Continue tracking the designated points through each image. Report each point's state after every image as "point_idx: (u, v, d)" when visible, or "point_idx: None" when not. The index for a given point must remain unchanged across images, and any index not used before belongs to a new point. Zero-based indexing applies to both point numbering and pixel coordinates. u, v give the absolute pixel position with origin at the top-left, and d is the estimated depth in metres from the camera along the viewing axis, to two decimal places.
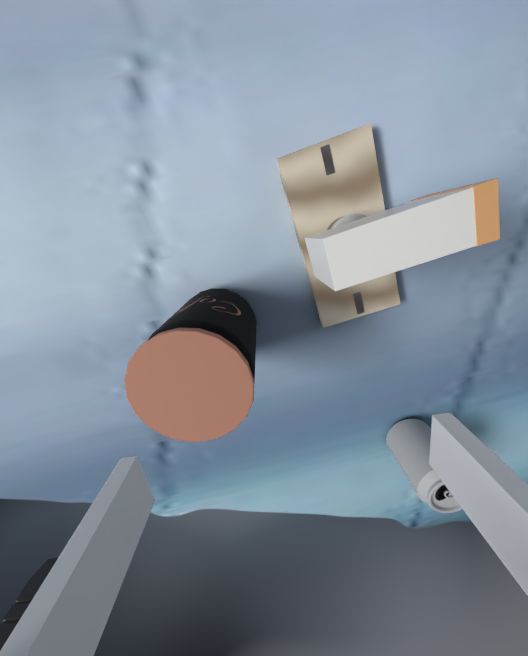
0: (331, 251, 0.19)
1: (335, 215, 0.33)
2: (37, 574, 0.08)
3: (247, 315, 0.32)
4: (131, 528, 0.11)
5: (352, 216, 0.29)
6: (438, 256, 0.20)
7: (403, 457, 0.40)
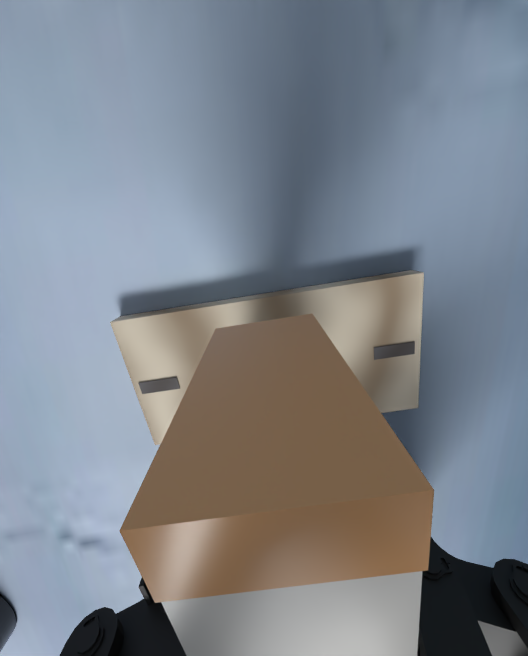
0: None
1: None
2: None
3: None
4: None
5: None
6: None
7: None
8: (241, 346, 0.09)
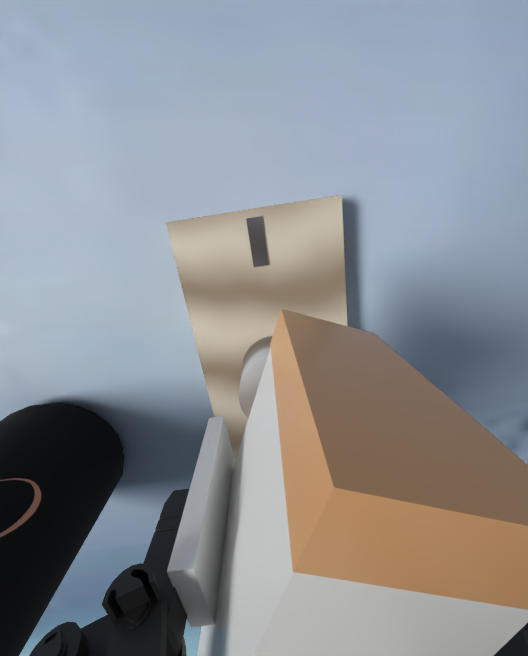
0: None
1: (263, 331, 0.19)
2: (170, 500, 0.10)
3: (69, 493, 0.17)
4: (226, 474, 0.12)
5: None
6: None
7: None
8: (323, 337, 0.09)
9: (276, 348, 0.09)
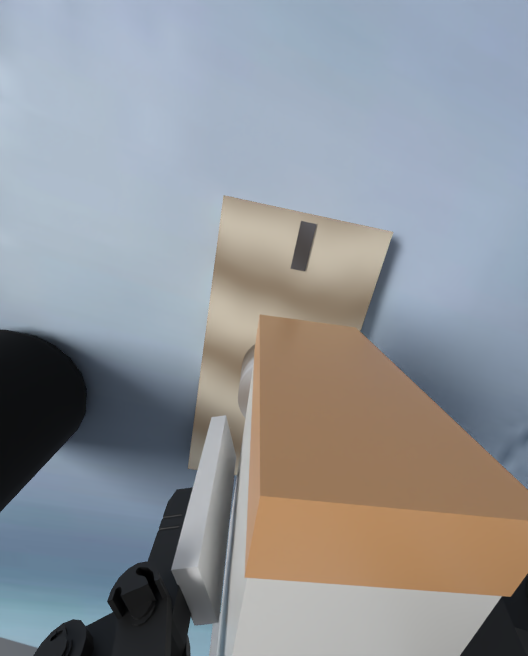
0: None
1: None
2: (173, 499, 0.10)
3: (26, 434, 0.16)
4: (229, 473, 0.12)
5: None
6: None
7: None
8: (297, 339, 0.09)
9: (255, 354, 0.10)
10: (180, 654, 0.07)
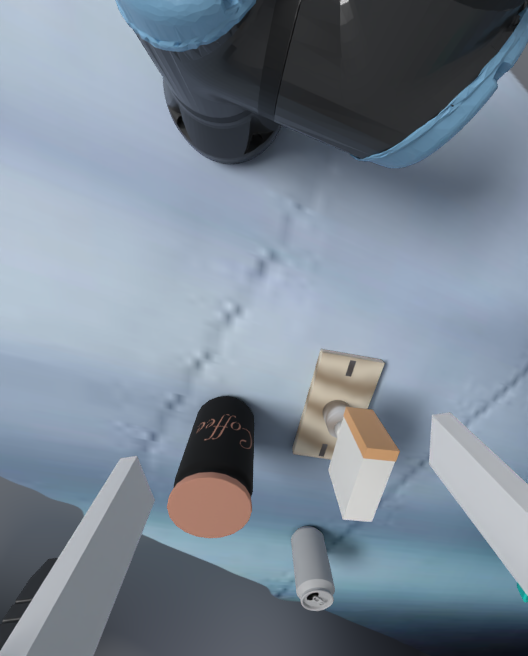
0: (351, 517, 0.35)
1: (337, 397, 0.47)
2: (37, 575, 0.08)
3: (253, 439, 0.44)
4: (131, 528, 0.11)
5: None
6: (387, 477, 0.33)
7: (299, 558, 0.55)
8: (359, 418, 0.37)
9: (348, 420, 0.38)
10: None
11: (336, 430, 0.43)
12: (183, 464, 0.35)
